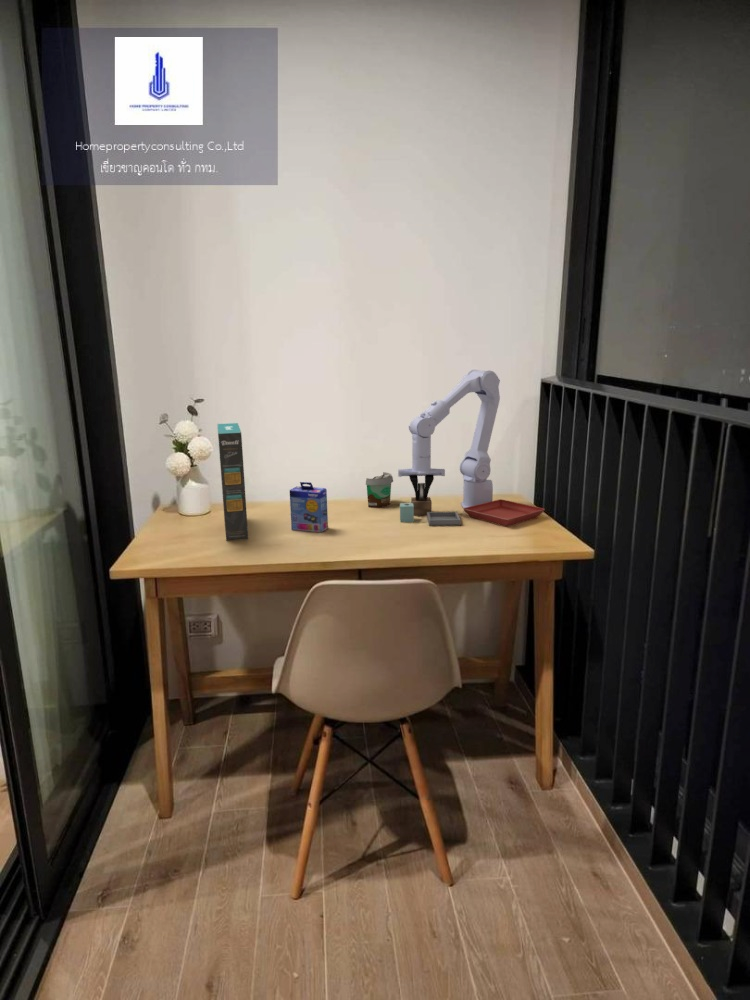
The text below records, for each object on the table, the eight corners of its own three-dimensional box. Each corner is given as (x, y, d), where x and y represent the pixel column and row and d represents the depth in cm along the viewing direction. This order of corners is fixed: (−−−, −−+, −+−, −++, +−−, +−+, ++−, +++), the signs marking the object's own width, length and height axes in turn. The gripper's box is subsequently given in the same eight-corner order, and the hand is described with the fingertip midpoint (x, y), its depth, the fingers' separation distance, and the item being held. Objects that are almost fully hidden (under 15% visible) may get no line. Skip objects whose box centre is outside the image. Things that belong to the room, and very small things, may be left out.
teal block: (412, 518, 197) (412, 502, 196) (413, 522, 193) (413, 506, 192) (399, 518, 197) (399, 502, 196) (400, 522, 193) (400, 506, 192)
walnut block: (429, 510, 206) (430, 497, 205) (431, 515, 200) (431, 501, 199) (411, 510, 206) (411, 497, 205) (412, 515, 200) (412, 501, 199)
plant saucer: (461, 517, 199) (461, 507, 198) (500, 508, 210) (500, 498, 209) (507, 530, 185) (507, 519, 184) (545, 519, 196) (546, 508, 195)
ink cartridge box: (290, 530, 187) (287, 482, 183) (298, 525, 192) (296, 478, 188) (321, 533, 184) (319, 484, 180) (328, 527, 189) (327, 479, 185)
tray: (456, 517, 198) (456, 511, 197) (460, 525, 189) (460, 519, 188) (426, 517, 198) (427, 512, 197) (429, 526, 189) (429, 520, 189)
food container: (382, 510, 207) (381, 480, 205) (365, 508, 210) (365, 478, 208) (399, 502, 218) (399, 473, 215) (384, 500, 221) (383, 471, 218)
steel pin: (424, 504, 204) (424, 482, 202) (424, 505, 201) (424, 484, 200) (417, 504, 204) (418, 482, 202) (417, 505, 202) (417, 484, 200)
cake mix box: (224, 520, 198) (217, 424, 191) (244, 518, 200) (237, 423, 193) (226, 540, 178) (218, 433, 171) (248, 538, 179) (241, 432, 172)
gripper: (398, 458, 195) (398, 501, 198) (446, 457, 195) (445, 501, 198) (397, 454, 202) (398, 496, 205) (443, 453, 202) (443, 495, 205)
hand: (421, 498), depth 202 cm, fingers closed on steel pin, 2 cm apart
